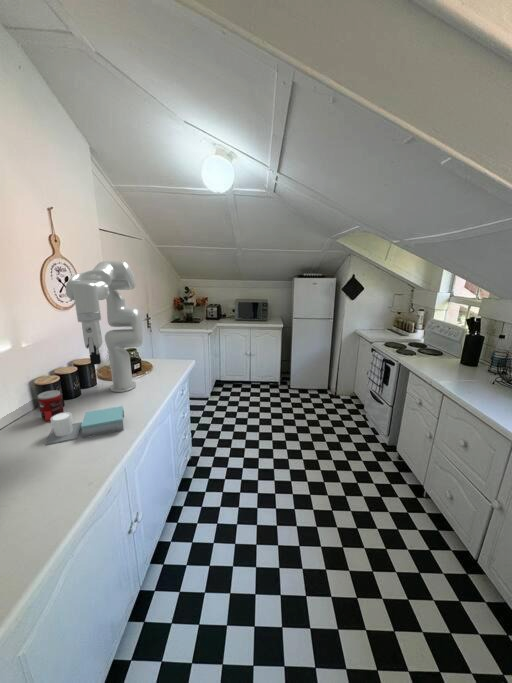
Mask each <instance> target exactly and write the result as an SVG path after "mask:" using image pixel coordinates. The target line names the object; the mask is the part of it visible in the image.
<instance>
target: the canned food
mask: <svg viewBox="0 0 512 683" xmlns="http://www.w3.org/2000/svg"><path fill="white" fill-rule="evenodd" d="M61 394H62V393H61V391H60V390H57V389H56V390H53V389H52V390H47V391H43V392H40V393H39V394H37V402H38V407H39V410H40V415H41V420H42V421H44V422H51V420H50V419H51V417H52V416H54V415H56V414H59V413H63V412H65V411H64V410H65V409H64V405H63V399H62V395H61Z"/></svg>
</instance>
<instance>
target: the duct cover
mask: <svg viewBox="0 0 512 683" xmlns="http://www.w3.org/2000/svg"><path fill="white" fill-rule="evenodd" d="M123 410H124V406H123V405H120V406H115V407H110V408H109V407H108V408H102V409H96V410H88V411H85V414H84V416H83V420H82V421H81V422H82V425H81V429H80V430H82V429H84V428H90V427H95V426H100V425H106V424H111V423H117V422H122V420H123V419H124V417H123ZM123 421H124V420H123Z"/></svg>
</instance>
